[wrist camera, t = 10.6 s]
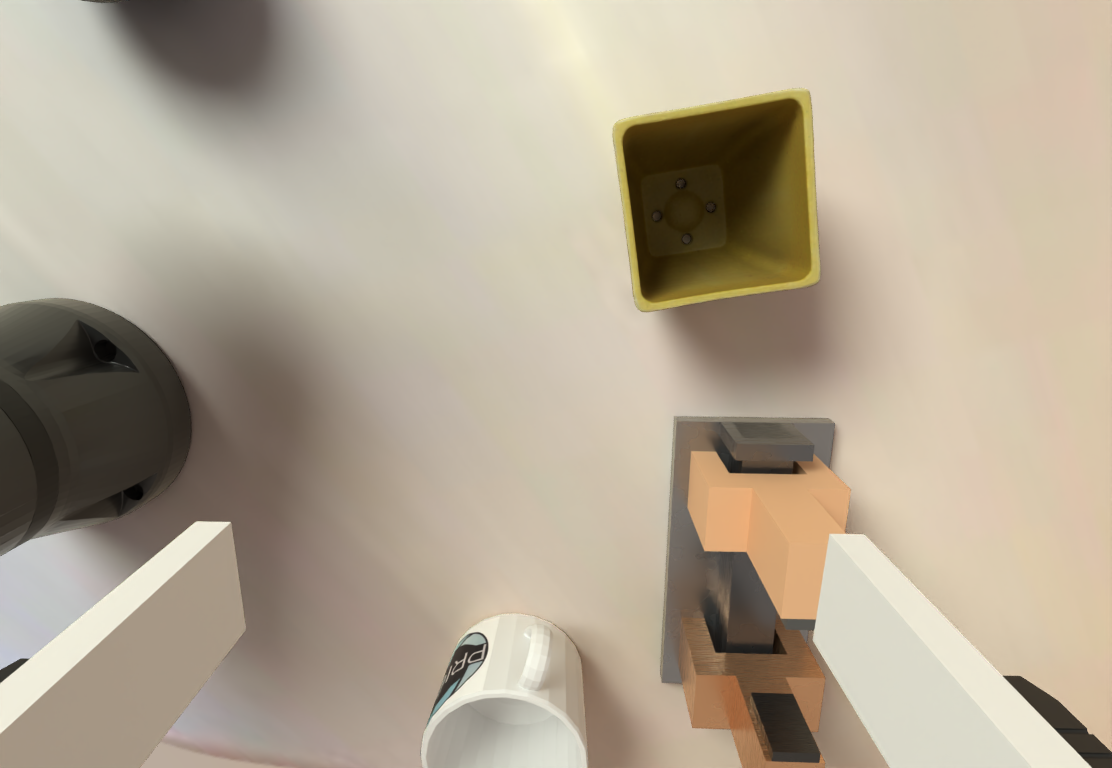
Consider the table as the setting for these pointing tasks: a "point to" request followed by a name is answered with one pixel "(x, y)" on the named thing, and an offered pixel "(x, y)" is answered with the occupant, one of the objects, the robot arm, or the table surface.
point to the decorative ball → (105, 1)
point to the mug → (509, 700)
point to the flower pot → (720, 199)
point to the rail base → (739, 604)
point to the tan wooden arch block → (772, 526)
